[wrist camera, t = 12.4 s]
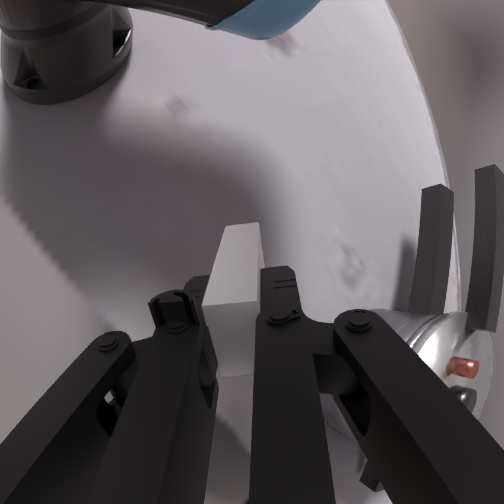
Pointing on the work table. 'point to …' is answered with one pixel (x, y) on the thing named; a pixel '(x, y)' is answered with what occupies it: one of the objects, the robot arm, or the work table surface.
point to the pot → (414, 295)
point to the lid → (473, 304)
